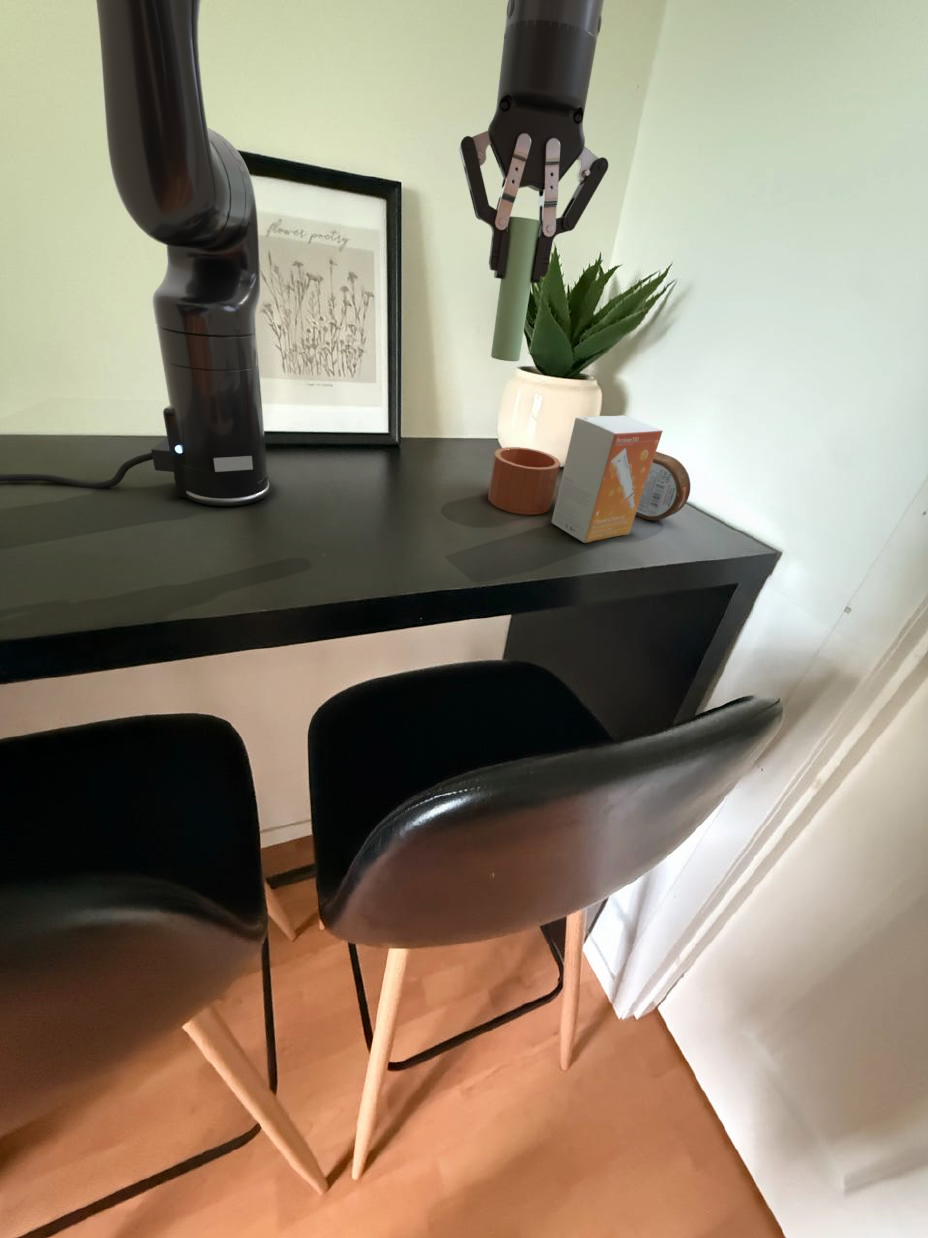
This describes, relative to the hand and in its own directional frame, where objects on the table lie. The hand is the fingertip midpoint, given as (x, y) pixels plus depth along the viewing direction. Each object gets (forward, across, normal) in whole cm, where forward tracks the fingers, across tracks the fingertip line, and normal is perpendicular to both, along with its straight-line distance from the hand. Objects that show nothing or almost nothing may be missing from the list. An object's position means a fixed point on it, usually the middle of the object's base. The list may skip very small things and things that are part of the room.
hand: (516, 279), depth 54 cm
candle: (+7, 0, 0) cm, 7 cm away
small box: (+25, -14, +1) cm, 29 cm away
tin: (+26, -21, -7) cm, 34 cm away
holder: (+25, -6, -6) cm, 27 cm away
